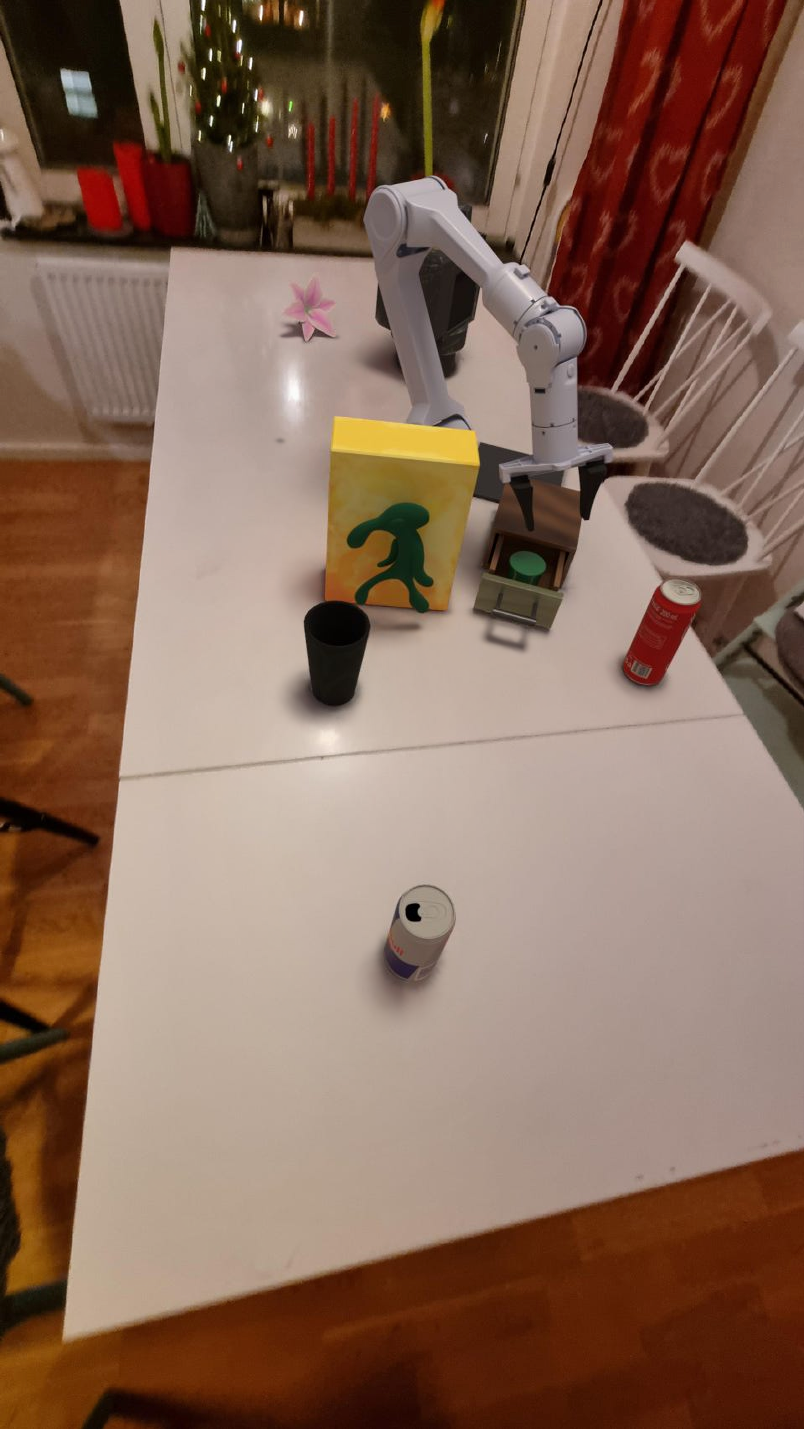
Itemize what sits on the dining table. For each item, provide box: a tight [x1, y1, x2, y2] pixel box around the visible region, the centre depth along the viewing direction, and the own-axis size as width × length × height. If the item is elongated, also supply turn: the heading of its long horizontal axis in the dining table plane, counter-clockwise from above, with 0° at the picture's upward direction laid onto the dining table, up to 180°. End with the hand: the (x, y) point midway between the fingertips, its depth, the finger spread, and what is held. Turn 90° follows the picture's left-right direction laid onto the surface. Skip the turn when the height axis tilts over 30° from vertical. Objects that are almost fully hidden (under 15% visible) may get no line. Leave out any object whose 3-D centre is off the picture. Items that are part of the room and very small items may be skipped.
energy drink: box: [383, 883, 457, 983], centre depth 65 cm, size 5×5×12 cm
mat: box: [473, 441, 565, 504], centre depth 122 cm, size 16×16×1 cm
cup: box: [303, 600, 372, 707], centre depth 84 cm, size 8×8×12 cm
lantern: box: [374, 199, 488, 378], centre depth 131 cm, size 15×18×30 cm
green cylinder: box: [506, 551, 546, 587], centre depth 100 cm, size 5×5×5 cm
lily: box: [282, 271, 337, 342], centre depth 144 cm, size 12×12×10 cm
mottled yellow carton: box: [324, 415, 480, 614], centre depth 90 cm, size 18×12×24 cm
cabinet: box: [481, 478, 583, 589], centre depth 108 cm, size 15×13×8 cm
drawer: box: [473, 534, 566, 629], centre depth 100 cm, size 18×11×6 cm, turn 165°
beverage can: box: [622, 576, 702, 686], centre depth 91 cm, size 6×6×15 cm
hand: (557, 523), depth 96 cm, fingers open, 7 cm apart
